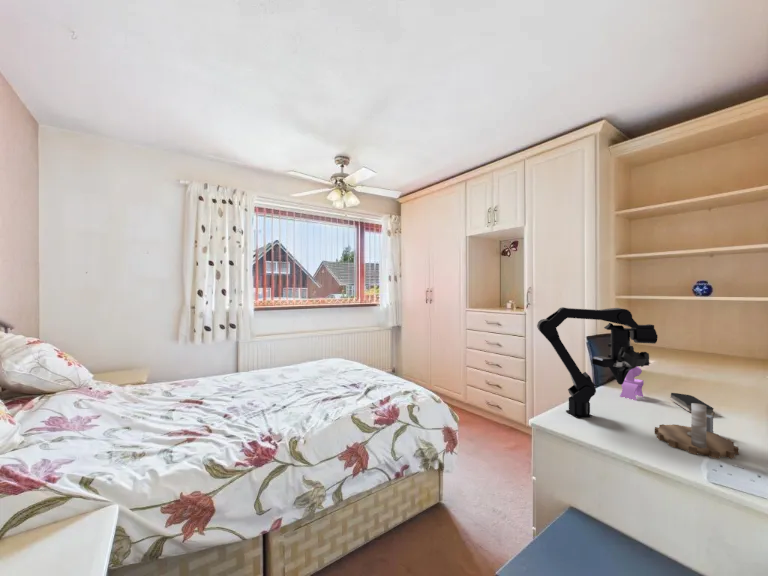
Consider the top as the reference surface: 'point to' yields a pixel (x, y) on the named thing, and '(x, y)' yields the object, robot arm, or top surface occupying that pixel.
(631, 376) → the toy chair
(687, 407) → the black sponge
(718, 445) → the sprocket
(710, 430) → the grey toy mallet
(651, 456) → the top surface
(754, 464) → the top surface
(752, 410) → the top surface
